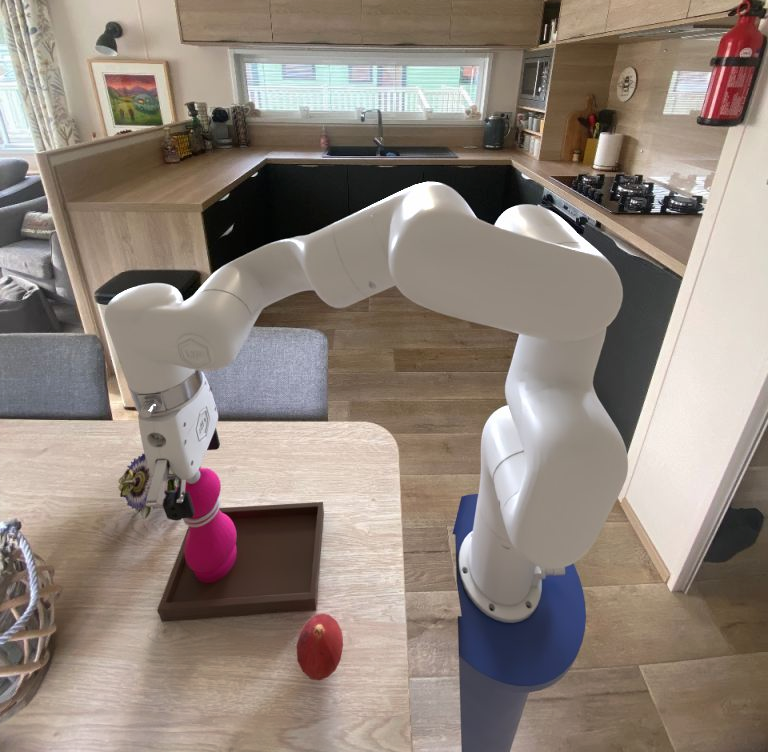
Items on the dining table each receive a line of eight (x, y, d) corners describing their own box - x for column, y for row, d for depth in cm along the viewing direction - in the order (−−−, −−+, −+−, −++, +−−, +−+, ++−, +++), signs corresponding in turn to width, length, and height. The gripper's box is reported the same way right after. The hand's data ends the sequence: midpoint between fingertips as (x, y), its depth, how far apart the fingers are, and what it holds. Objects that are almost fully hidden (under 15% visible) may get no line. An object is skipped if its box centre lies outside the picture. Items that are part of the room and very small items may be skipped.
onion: (292, 687, 49) (286, 654, 46) (307, 627, 54) (302, 595, 51) (337, 696, 48) (335, 664, 45) (348, 635, 53) (346, 602, 50)
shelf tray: (323, 512, 68) (323, 501, 67) (316, 610, 56) (315, 598, 55) (198, 520, 67) (194, 509, 66) (161, 622, 54) (156, 610, 53)
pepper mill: (230, 587, 57) (207, 498, 50) (181, 588, 57) (150, 498, 50) (246, 534, 64) (228, 448, 56) (202, 534, 64) (178, 448, 56)
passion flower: (147, 529, 71) (97, 488, 68) (193, 471, 79) (150, 432, 76) (171, 536, 64) (116, 491, 61) (218, 472, 72) (172, 429, 69)
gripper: (167, 443, 39) (200, 547, 46) (222, 337, 55) (241, 425, 62) (90, 447, 39) (135, 552, 45) (168, 339, 55) (193, 428, 61)
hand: (196, 479), depth 53 cm, fingers open, 9 cm apart
